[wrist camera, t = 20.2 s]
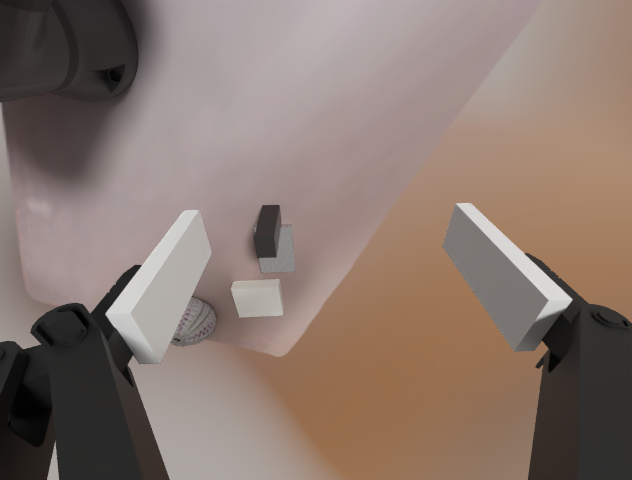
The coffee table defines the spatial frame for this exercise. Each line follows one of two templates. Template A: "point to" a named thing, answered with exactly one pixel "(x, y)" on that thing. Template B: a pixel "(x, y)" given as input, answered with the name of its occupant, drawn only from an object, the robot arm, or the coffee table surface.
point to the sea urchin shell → (194, 324)
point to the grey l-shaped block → (274, 241)
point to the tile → (258, 298)
